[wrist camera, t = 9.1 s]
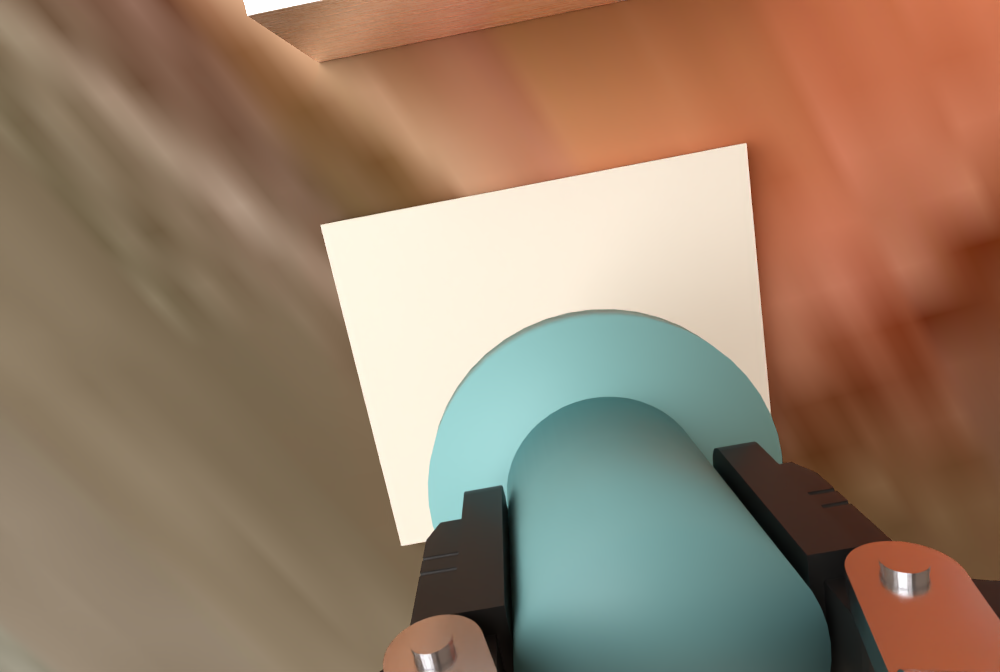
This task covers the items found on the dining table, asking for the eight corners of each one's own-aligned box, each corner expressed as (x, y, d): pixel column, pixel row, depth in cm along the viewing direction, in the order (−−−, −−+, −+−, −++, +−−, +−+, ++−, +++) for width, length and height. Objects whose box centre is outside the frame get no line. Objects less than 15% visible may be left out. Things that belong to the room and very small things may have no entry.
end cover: (686, 256, 17) (941, 342, 7) (724, 504, 18) (974, 845, 9) (418, 314, 17) (318, 469, 7) (477, 552, 18) (457, 934, 9)
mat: (737, 144, 21) (746, 143, 20) (767, 471, 24) (776, 480, 23) (326, 223, 22) (320, 225, 21) (404, 534, 24) (401, 545, 24)
